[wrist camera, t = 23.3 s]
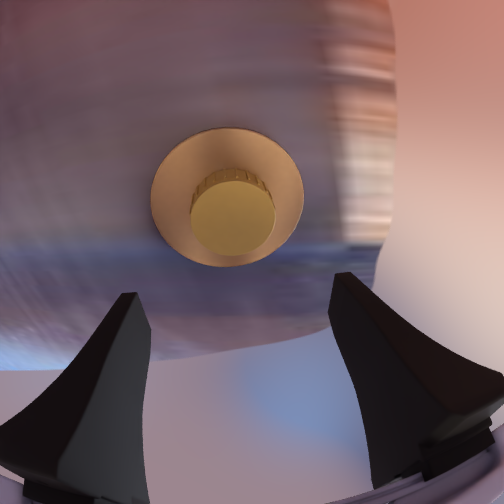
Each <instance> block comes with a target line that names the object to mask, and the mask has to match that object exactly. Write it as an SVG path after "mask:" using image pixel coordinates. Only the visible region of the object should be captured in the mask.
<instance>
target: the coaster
mask: <svg viewBox="0 0 504 504" xmlns="http://www.w3.org/2000/svg"><path fill="white" fill-rule="evenodd" d="M235 168H237V169H239V170H244V171H246V170H248V172H249V173H252V174H253V175H257V177H258V178H259V179H260V180H261V181H262V182H263V181H264V182H265V185H266V187H267V190H269V191H270V193H271V196H272V198H273V204H274V206H275V209H276V210H275V213H276V220H275V225H274V229H273V231H272V233H271V235H270V236H269V238H268V239H267V240H266V241H265V242H264V243H263V244H262V245H261V246H260V247H258V248H257V249H255V250H253V251H251V252H249V253H246V254H242V255H235V256H228V255H221V254H217V253H214V252H212V251H210V250H208V249H207V248H205V247H204V246H203V245H202V244H201V243H200V242H199V241H198V240H197V239H196V237H195V236H194V234H193V231H192V228H191V225H190V216H191V215H189V212H190V205H191V201H192V195H193V194H194V193H195V191H196V188H197V185H200V183H201V182H202V181H203V180H204V178H207V177H208V176H209V175H211V174H213V172H218V171H221V170H224V169H235ZM303 202H304V190H303V183H302V179H301V176H300V173H299V171H298V169H297V166H296V165H295V163H294V162H293V160H292V159H291V157H290V156H289V155H288V153H287V152H286V151H285V150H284V149H283V148H282V147H281V146H280V145H278V144H277V143H276V142H275V141H273V140H272V139H270V138H268V137H267V136H265V135H262V134H260V133H258V132H255V131H252V130H248V129H243V128H236V127H222V128H214V129H209V130H206V131H202V132H200V133H197V134H195V135H192V136H191V137H189V138H187V139H185V140H184V141H182V142H181V143H180V144H178V145H177V146H176V147H174V148H173V149H172V151H171V152H170V153H169V154H168V155H167V156H166V157H165V159H164V160H163V161H162V163H161V165H160V166H159V168H158V170H157V172H156V174H155V177H154V180H153V183H152V188H151V197H150V203H151V211H152V215H153V219H154V222H155V224H156V227H157V229H158V230H159V232H160V234H161V235H162V237H163V238H164V239H165V240H166V242H167V243H168V244H169V245H170V246H171V247H172V248H173V249H175V250H176V251H177V252H179V253H180V254H182V255H183V256H185V257H187V258H188V259H191V260H193V261H195V262H198V263H201V264H205V265H210V266H217V267H233V266H240V265H245V264H249V263H252V262H255V261H258V260H260V259H262V258H264V257H266V256H267V255H269V254H271V253H272V252H274V251H275V250H276V249H278V248H279V247H280V246H281V245H282V244H283V243H284V242H285V241H286V240H287V239H288V238H289V236H290V235H291V234H292V232H293V231H294V229H295V227H296V226H297V223H298V221H299V219H300V216H301V213H302V209H303Z"/></svg>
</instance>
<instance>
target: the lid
mask: <svg viewBox="0 0 504 504" xmlns="http://www.w3.org/2000/svg"><path fill="white" fill-rule="evenodd" d="M275 210H276V209H275V206H274V204H273V198H272V196H271V193H270V191H269V190H267V187H266V185H265V182H264V181H263V182H262V181H261V180H260V179H259V178H258V177H257V175H253V174H252V173H249V172H248V170H246V171H244V170H239V169H237V168H235V169H224V170H221V171H218V172H213V174H211V175H209V176H208V177H207V178H204V180H203V181H202V182H201V183H200V185H197V188H196V191H195V193H194V194H193V195H192V201H191V205H190V212H189V215H191V216H190V225H191V228H192V231H193V234H194V236H195V237H196V239H197V240H198V241H199V242H200V243H201V244H202V245H203V246H204V247H205V248H207V249H208V250H210V251H212V252H214V253H217V254H221V255H228V256H235V255H242V254H246V253H249V252H251V251H253V250H255V249H257V248H258V247H260V246H261V245H262V244H263V243H264V242H265V241H266V240H267V239H268V238H269V236H270V235H271V233H272V231H273V229H274V225H275V220H276V213H275Z"/></svg>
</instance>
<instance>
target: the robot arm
mask: <svg viewBox="0 0 504 504" xmlns="http://www.w3.org/2000/svg"><path fill="white" fill-rule="evenodd" d="M328 315H329V319H330V323H331V327H332V330H333V334H334V337H335V339H336V342H337V345H338V347H339V349H340V352H341V355H342V357H343V359H344V362H345V364H346V367H347V369H348V372H349V374H350V377H351V379H352V382H353V385H354V388H355V391H356V394H357V398H358V402H359V406H360V410H361V414H362V419H363V424H364V429H365V434H366V439H367V446H368V452H369V459H370V468H371V480H372V484H373V488H374V490H372V491H369V492H367V493H363V494H360V495H357V496H353V497H350V498H346V499H342V500H339V501H335V502H330V503H326V504H386V503H388V502H389V503H388V504H491V503H492V502H494V501H495V500H496V499H497V498H498V497H499V496H500V495H501V494H502V493H504V424H502V425H501V426H500V427H498V428H496V429H495V430H494V431H492V432H491V431H490V429H489V426H491V425H492V421H491V418H490V416H491V415H492V414H493V413H494V412H495V411H496V410H497V409H499V408H500V407H501V406H502V405H503V404H504V376H503V374H502V373H500V372H497V371H495V370H492V369H489V368H487V367H484V366H481V365H479V364H477V363H475V362H472V361H470V360H468V359H466V358H464V357H462V356H460V355H458V354H456V353H454V352H452V351H451V350H449V349H447V348H445V347H444V346H442V345H440V344H439V343H437V342H435V341H434V340H432V339H431V338H429V337H428V336H426V335H425V334H424V333H422V332H421V331H419V330H417V329H416V328H415V327H414V326H412V325H411V324H410V323H409V322H407V321H406V320H405V319H403V318H402V317H401V316H400V315H398V314H397V313H396V312H395V311H394V310H392V309H391V308H390V307H389V306H388V305H387V304H385V303H384V302H383V301H382V300H381V299H380V298H379V297H378V296H376V295H375V294H374V293H373V292H372V291H371V290H370V289H369V288H368V287H367V286H366V285H364V284H363V283H362V282H361V281H360V280H359V279H358V278H357V277H356V276H354V275H353V274H352V273H351V272H345V273H336V274H335V277H334V282H333V288H332V293H331V299H330V304H329V309H328ZM150 347H151V328H150V325H149V323H148V320H147V318H146V315H145V312H144V310H143V307H142V304H141V302H140V299H139V296H138V293H137V292H132V293H122V294H121V295H120V296H119V298H118V299H117V300H116V302H115V303H114V305H113V306H112V307H111V309H110V310H109V312H108V313H107V315H106V316H105V318H104V319H103V320H102V322H101V323H100V325H99V326H98V327H97V329H96V330H95V332H94V333H93V335H92V336H91V337H90V339H89V340H88V341H87V343H86V344H85V345H84V347H83V348H82V349H81V351H80V352H79V353H78V355H77V356H76V357H75V358H74V360H73V361H72V362H71V363H70V364H69V366H68V367H67V368H66V369H65V370H64V371H63V372H62V373H61V375H60V376H59V377H58V378H57V379H56V380H55V381H54V382H53V383H52V384H51V385H50V386H49V387H48V388H47V389H46V390H45V391H44V392H43V393H42V394H41V395H40V396H38V397H37V398H36V399H35V400H34V401H33V402H32V403H30V404H29V405H28V406H27V407H26V408H24V409H23V410H22V411H21V412H19V413H18V414H17V415H15V416H14V417H13V418H11V419H10V420H8V421H7V422H5V423H4V424H3V425H1V426H0V465H1V466H3V467H4V468H6V469H8V470H9V471H11V472H13V473H15V474H17V475H18V476H20V477H22V478H24V485H23V484H21V483H19V482H17V481H14V480H12V479H9V478H7V477H5V476H2V475H0V504H150V501H149V496H148V490H147V483H146V476H145V467H144V456H143V437H142V411H143V401H144V393H145V386H146V379H147V372H148V366H149V359H150Z"/></svg>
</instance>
